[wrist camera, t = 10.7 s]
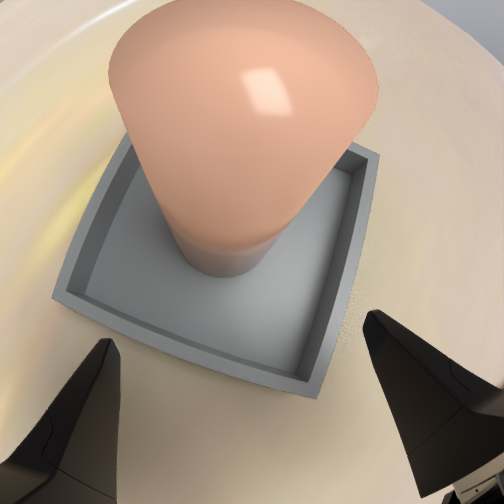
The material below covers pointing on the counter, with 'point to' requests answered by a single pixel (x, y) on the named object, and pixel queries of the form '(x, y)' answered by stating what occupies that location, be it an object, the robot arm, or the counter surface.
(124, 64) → the canister
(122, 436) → the counter surface
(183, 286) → the tray
